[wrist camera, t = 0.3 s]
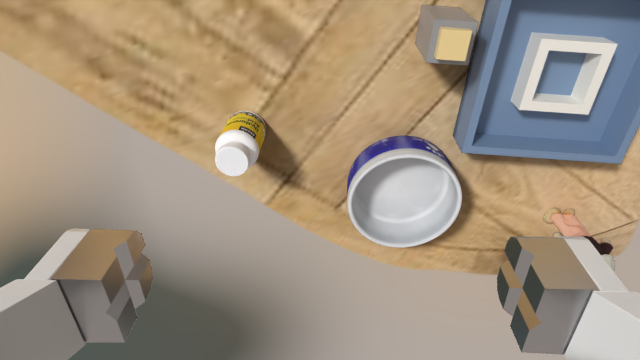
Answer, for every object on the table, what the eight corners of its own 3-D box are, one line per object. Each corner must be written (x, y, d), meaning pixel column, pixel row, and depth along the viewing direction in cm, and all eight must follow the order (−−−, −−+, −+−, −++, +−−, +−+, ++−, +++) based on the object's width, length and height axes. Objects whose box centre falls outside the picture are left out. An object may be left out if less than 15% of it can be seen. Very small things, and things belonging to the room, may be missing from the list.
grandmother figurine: (534, 227, 66) (572, 289, 55) (538, 207, 64) (578, 266, 53) (586, 224, 65) (635, 286, 55) (592, 203, 63) (644, 263, 53)
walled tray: (492, -28, 48) (507, -22, 44) (672, -15, 48) (704, -8, 44) (452, 135, 58) (461, 152, 54) (599, 145, 58) (620, 163, 54)
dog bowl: (471, 150, 60) (483, 172, 55) (427, 232, 68) (434, 259, 62) (366, 121, 58) (369, 141, 53) (334, 209, 66) (333, 234, 61)
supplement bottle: (268, 113, 58) (257, 146, 49) (264, 148, 61) (252, 185, 52) (228, 105, 57) (210, 138, 49) (226, 141, 60) (208, 178, 52)
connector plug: (421, 4, 50) (436, 21, 42) (459, 7, 50) (481, 24, 42) (414, 43, 52) (427, 65, 45) (451, 45, 52) (470, 68, 45)
